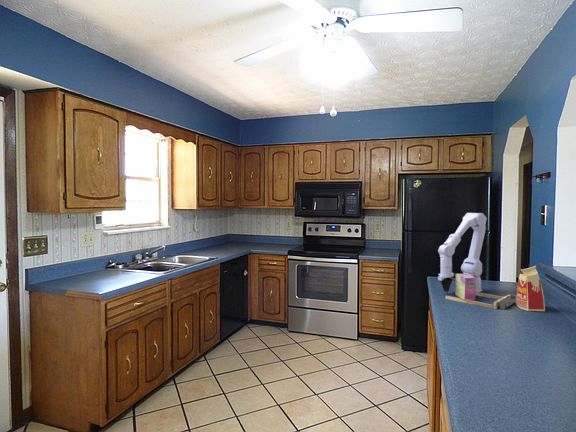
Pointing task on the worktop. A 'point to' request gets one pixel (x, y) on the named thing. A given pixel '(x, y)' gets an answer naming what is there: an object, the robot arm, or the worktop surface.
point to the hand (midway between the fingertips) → (446, 291)
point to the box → (465, 286)
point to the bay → (501, 303)
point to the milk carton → (530, 291)
